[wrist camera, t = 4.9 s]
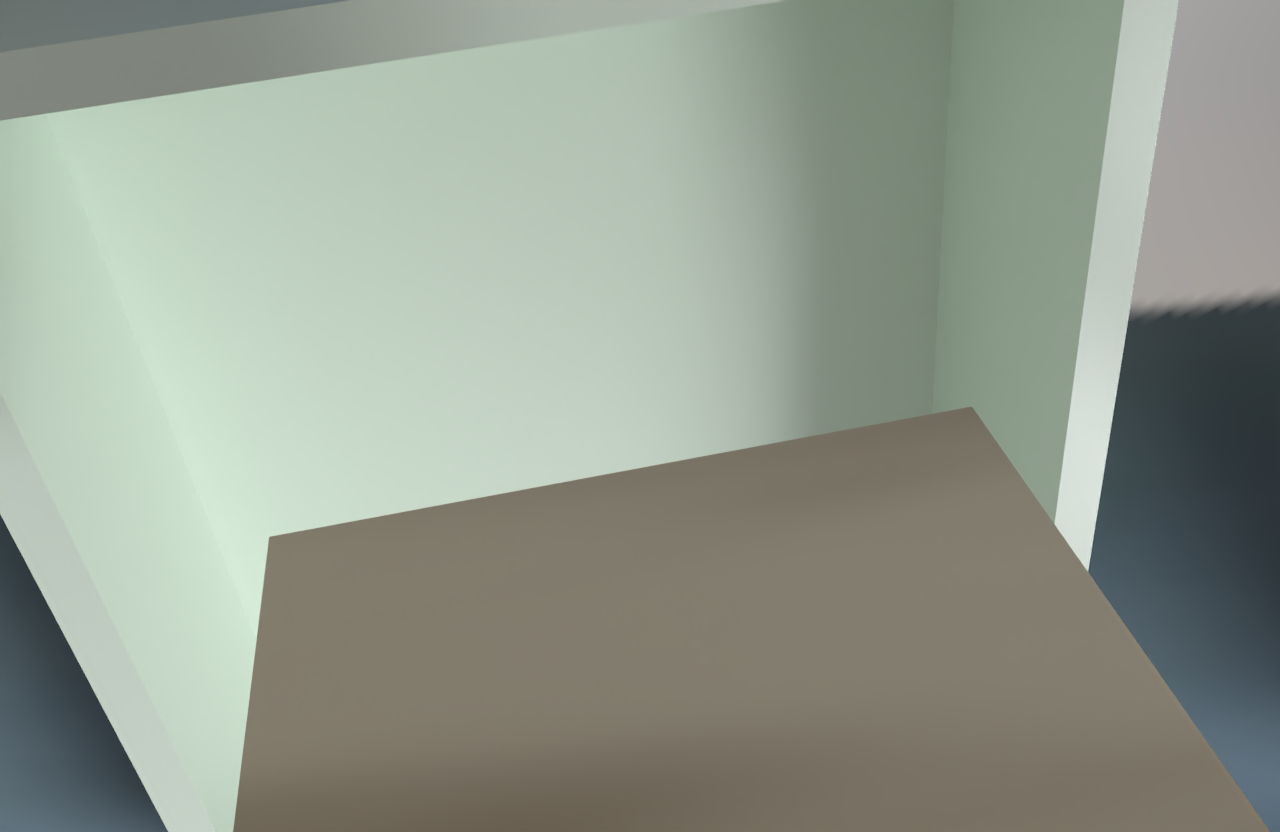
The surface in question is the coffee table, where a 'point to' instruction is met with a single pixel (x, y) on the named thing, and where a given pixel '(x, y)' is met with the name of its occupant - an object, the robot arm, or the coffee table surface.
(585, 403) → the box
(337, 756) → the cube
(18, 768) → the coffee table surface
